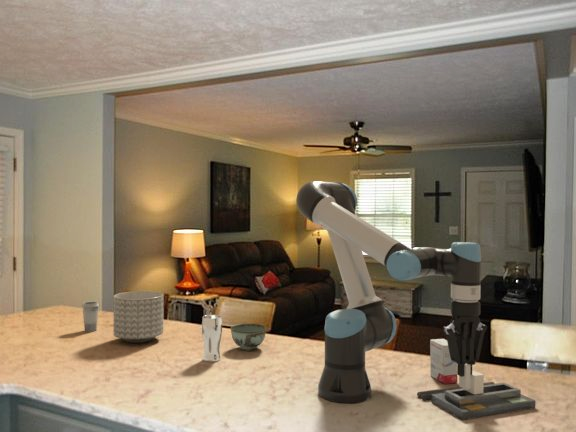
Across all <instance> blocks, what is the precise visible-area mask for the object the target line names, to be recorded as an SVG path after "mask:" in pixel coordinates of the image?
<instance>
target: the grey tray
mask: <svg viewBox="0 0 576 432" xmlns="http://www.w3.org/2000/svg"><path fill="white" fill-rule="evenodd" d="M521 392H522V391H521V389H519V388H518V387H515V386H513V385H510V384H509V383H506V382H499V383H495V384H490V385H484V386H483V393H482V394H476V395H469V396H465V390H464V388H461V389H454V390H447V391H445V393H439V394H432V395H431V399H430V400H431V403H433V404H434V405H436V406H438V407H440V409H443V410H444V411H446V412H448V413H450V414H451V415H453V416H455V417H456V418H458V419H460V420H462V421H466V420H472V419H478V418H484V416H485V417H490V415H491V416H494V415H495V416H496V415H503V414H505V413H506V414H508V413H513V411H514V412H520V411H525V409H526V410H531V409H530V408H532V409H535V408H536V400H535V399H533V398H530V397H528V396H527V395H524V394H522V393H521ZM519 410H520V411H519ZM507 412H508V413H507Z"/></svg>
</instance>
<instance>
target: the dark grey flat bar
mask: <svg viewBox="0 0 576 432" xmlns="http://www.w3.org/2000/svg"><path fill="white" fill-rule="evenodd" d="M490 384H496V383H495V382H494V381H488V382H487V381H486V382H484V385H490ZM454 389H461V387H459V385H458V386H451V387H445V388H437V389H431V390H421V391H418V392H416V396H417V397H418V398H421V399H422V401H423V400H424V401H427V400H431V395H432V394H439V393H445V391H447V390H454Z"/></svg>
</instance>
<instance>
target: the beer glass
mask: <svg viewBox="0 0 576 432" xmlns="http://www.w3.org/2000/svg"><path fill="white" fill-rule="evenodd" d="M222 323H223V321H222V316H221V315H219V314H205V315H203V316H202V322H201V337H202V342H203V355H202V356H203V357H202V360H203V361H204V362H206V363H215V362H218V361H220V360H221V359H222V357H221V352H220V345H221V340H222V335H223V334H222V333H223V324H222Z"/></svg>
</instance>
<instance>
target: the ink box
mask: <svg viewBox="0 0 576 432" xmlns="http://www.w3.org/2000/svg"><path fill="white" fill-rule="evenodd" d="M429 342H430V343H429V348H430V353H429V354H430V355H429V356H430V357H429V358H430V359H429V360H430V363H429V364H430V366H429V367H430V368H429V371H430V377H432V378H433V379H435V380H437V381H439V382H441V383H442V384H445V385H446V384H454V383H458V374H457V363H456V362H454V361H452V360H451V358H450V353H449V348H448V343H447V339H445V338H436V339H435V338H432V339H430V341H429Z"/></svg>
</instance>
